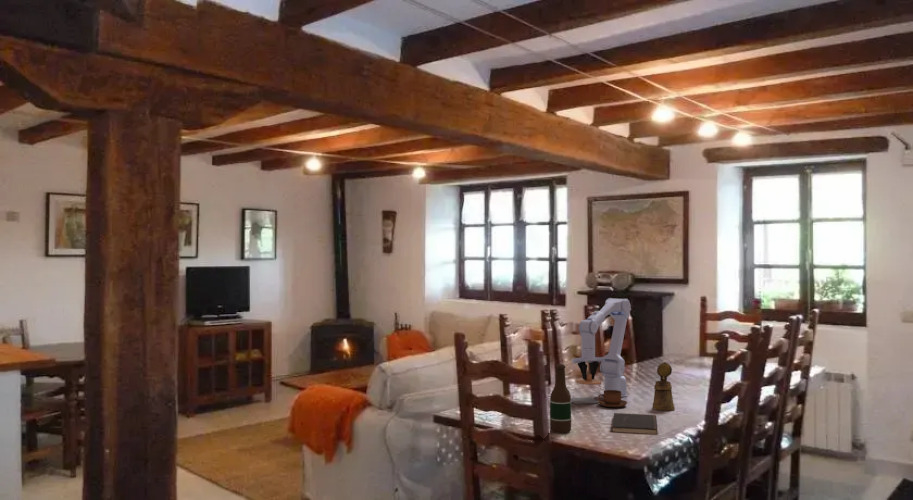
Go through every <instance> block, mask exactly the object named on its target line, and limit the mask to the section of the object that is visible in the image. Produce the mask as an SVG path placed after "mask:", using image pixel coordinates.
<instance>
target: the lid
mask: <svg viewBox="0 0 913 500" xmlns="http://www.w3.org/2000/svg"><path fill="white" fill-rule="evenodd" d="M575 383H576V384H580V385H586V386H587V385H588V386H589V385H591V386H593V385H594V386H595V385H597V386H598V385H601V384H602V380H601V379H596V378H594V380H592V374H590V373H587V379H586V380H584V379H583V377H582V378H576V379H575Z"/></svg>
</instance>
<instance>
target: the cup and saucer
mask: <svg viewBox="0 0 913 500" xmlns="http://www.w3.org/2000/svg"><path fill="white" fill-rule="evenodd" d="M603 393H604V394H601V393H600V394H598V397H597V401H598V403H599V404H598V405H600V406H602V407H606V408H611V409H612V408H622V407H625V406H626V405H627V404H628V401H626V400H624V399H622V397H621V391H617V390H605V391H604V390H603ZM601 396H602V397H603V399H602V398H601Z"/></svg>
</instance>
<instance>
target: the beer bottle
mask: <svg viewBox="0 0 913 500" xmlns="http://www.w3.org/2000/svg"><path fill="white" fill-rule="evenodd" d="M554 368H555V383H554V388H553V389H552V391H551V393H550V396H549V397H550V399H549V411H550V412H549V421H550V422H549V428H550V429H549V430H550V432H552V433H554V434H569V433H570V432H571V431H572V403H571V398H572V396H571V395H572V394H571V393H570V390H569V389H568V387H567V383H566V365H565V364H562V363H561V364H559V363H558V364H556V365H555V367H554Z"/></svg>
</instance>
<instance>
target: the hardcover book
mask: <svg viewBox="0 0 913 500" xmlns="http://www.w3.org/2000/svg"><path fill="white" fill-rule="evenodd" d="M657 419H658V418H657V415H655V414H645V413H644V414H643V413H642V414H640V413H623V412H622V413H621V412H620V413H618V412H614V413H613V417H612V422H611V428H612V432H616V433H633V434H650V435H652V434H653V435H658V433H659V432H658V421H657Z"/></svg>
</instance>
